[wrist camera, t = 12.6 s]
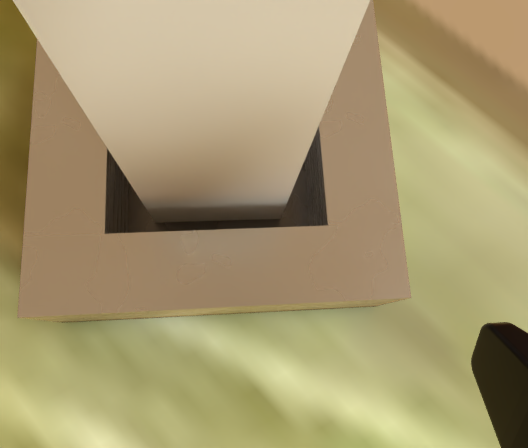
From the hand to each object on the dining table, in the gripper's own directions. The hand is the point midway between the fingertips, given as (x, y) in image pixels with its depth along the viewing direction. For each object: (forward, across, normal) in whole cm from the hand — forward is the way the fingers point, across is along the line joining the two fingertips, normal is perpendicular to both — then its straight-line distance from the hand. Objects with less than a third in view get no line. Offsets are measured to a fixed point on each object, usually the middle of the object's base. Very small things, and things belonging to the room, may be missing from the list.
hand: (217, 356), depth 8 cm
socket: (+11, 0, +1) cm, 11 cm away
